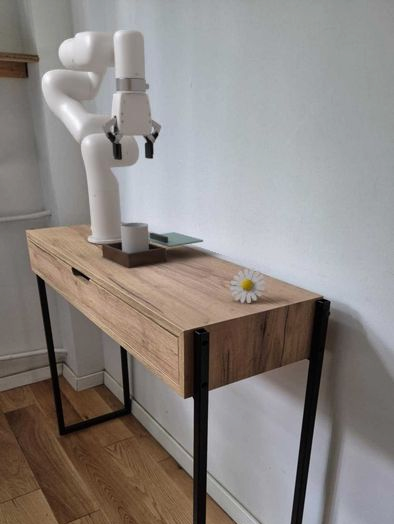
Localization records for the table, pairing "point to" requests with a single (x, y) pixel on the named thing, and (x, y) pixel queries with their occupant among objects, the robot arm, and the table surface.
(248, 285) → the decorative flower
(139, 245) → the cup
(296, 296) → the table surface
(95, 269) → the table surface
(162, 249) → the case
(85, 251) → the table surface
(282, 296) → the table surface
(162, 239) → the glass top
